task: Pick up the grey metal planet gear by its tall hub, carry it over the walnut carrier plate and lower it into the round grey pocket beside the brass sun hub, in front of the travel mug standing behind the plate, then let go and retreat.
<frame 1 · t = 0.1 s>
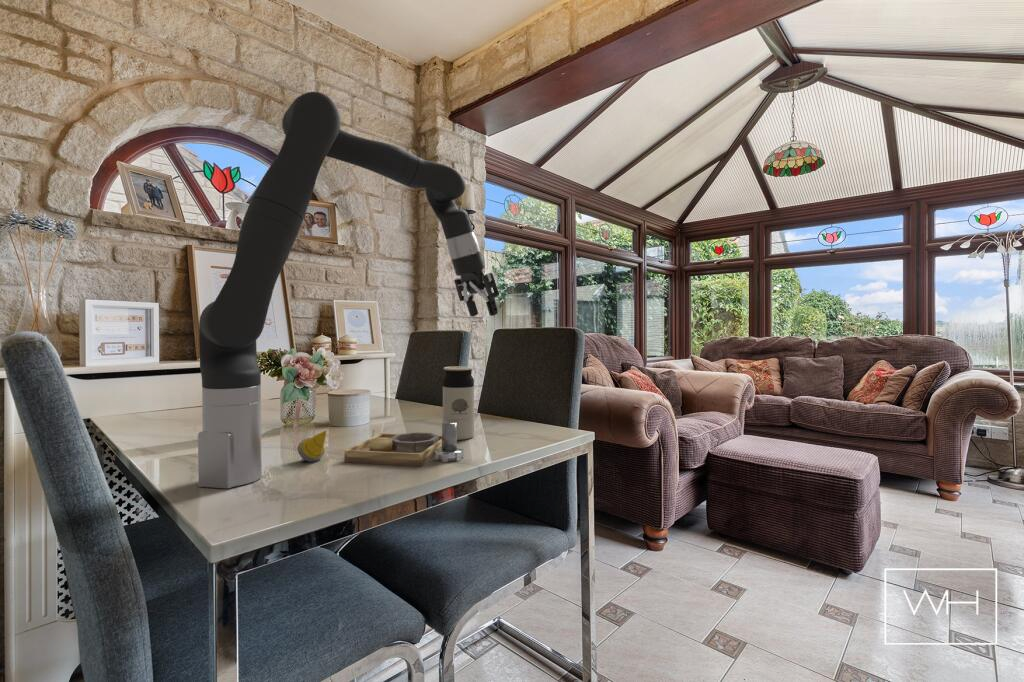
hand: (484, 315, 123), 31 cm above the table, fingers open, 8 cm apart
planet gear: (449, 458, 103), on the table
travel mug: (458, 437, 123), on the table
yellow grey teardrop: (316, 461, 101), on the table
carrier: (399, 453, 107), on the table
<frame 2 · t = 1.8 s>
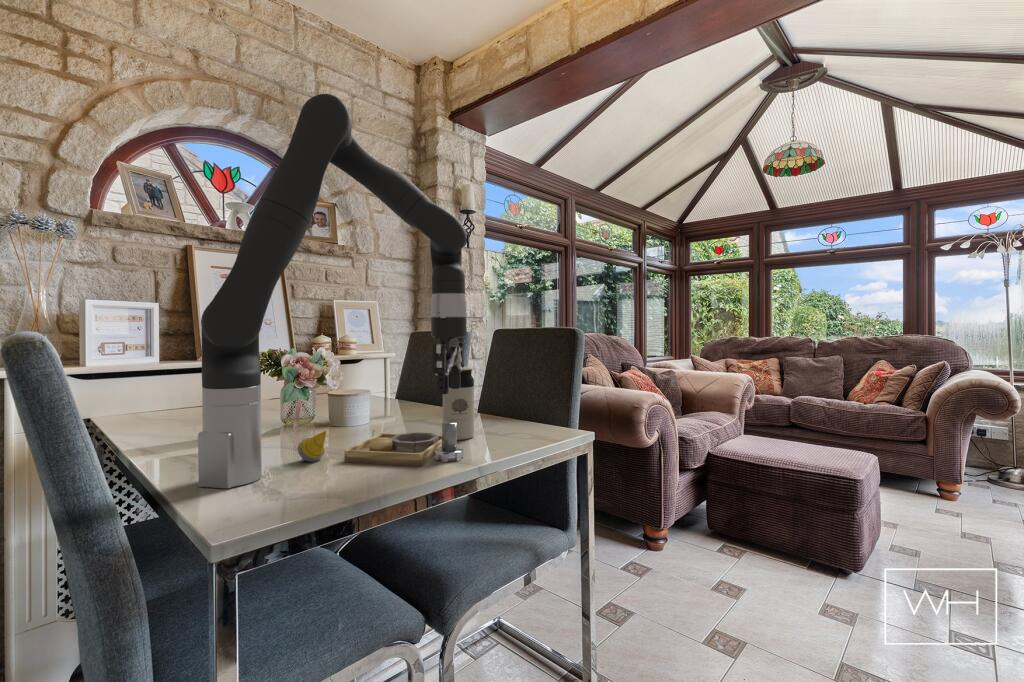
hand: (449, 391, 103), 14 cm above the table, fingers open, 8 cm apart
nothing on the table moved.
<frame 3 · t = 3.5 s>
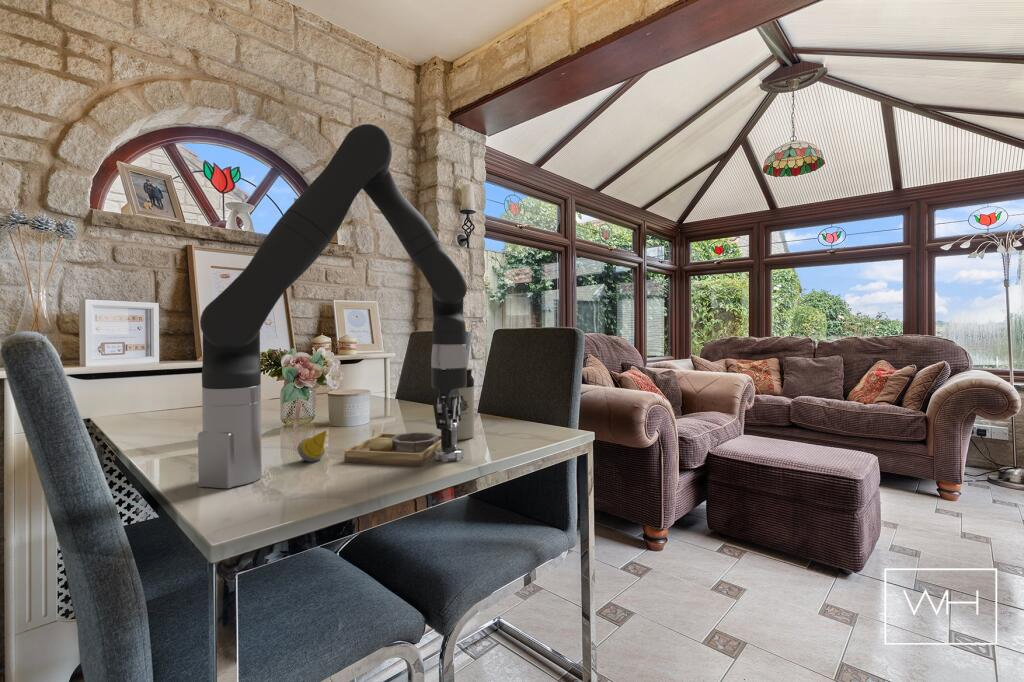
hand: (449, 445, 103), 3 cm above the table, fingers closed on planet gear, 3 cm apart
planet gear: (449, 458, 103), on the table, touching gripper
everything else where it was.
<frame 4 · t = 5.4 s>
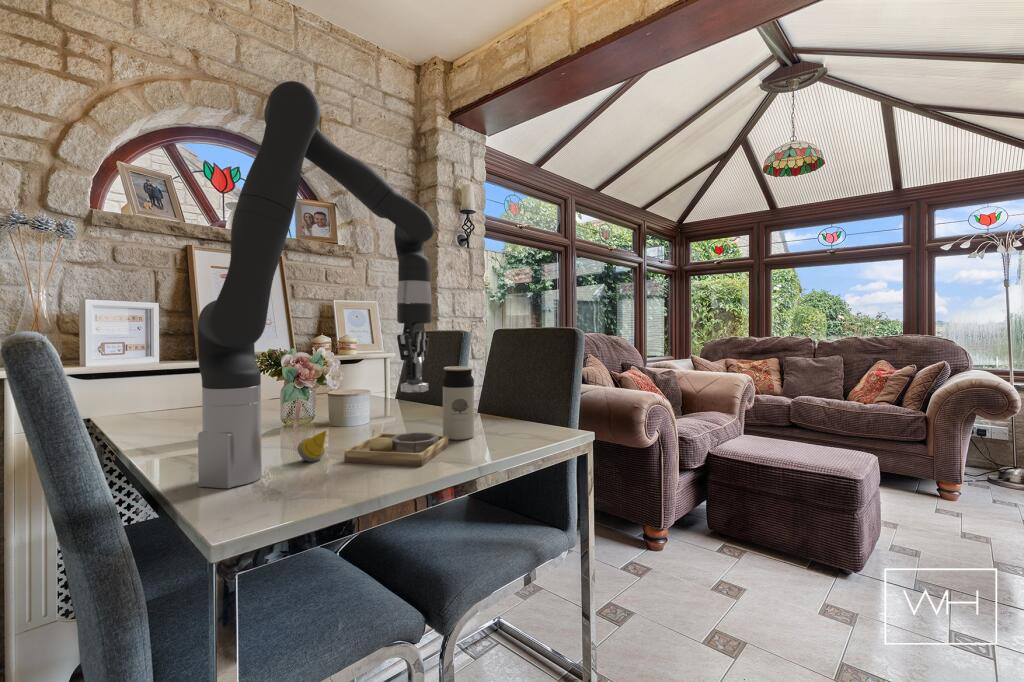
hand: (414, 378, 108), 17 cm above the table, fingers closed on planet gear, 3 cm apart
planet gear: (414, 390, 108), point 14 cm above the table, touching gripper
everything else where it was.
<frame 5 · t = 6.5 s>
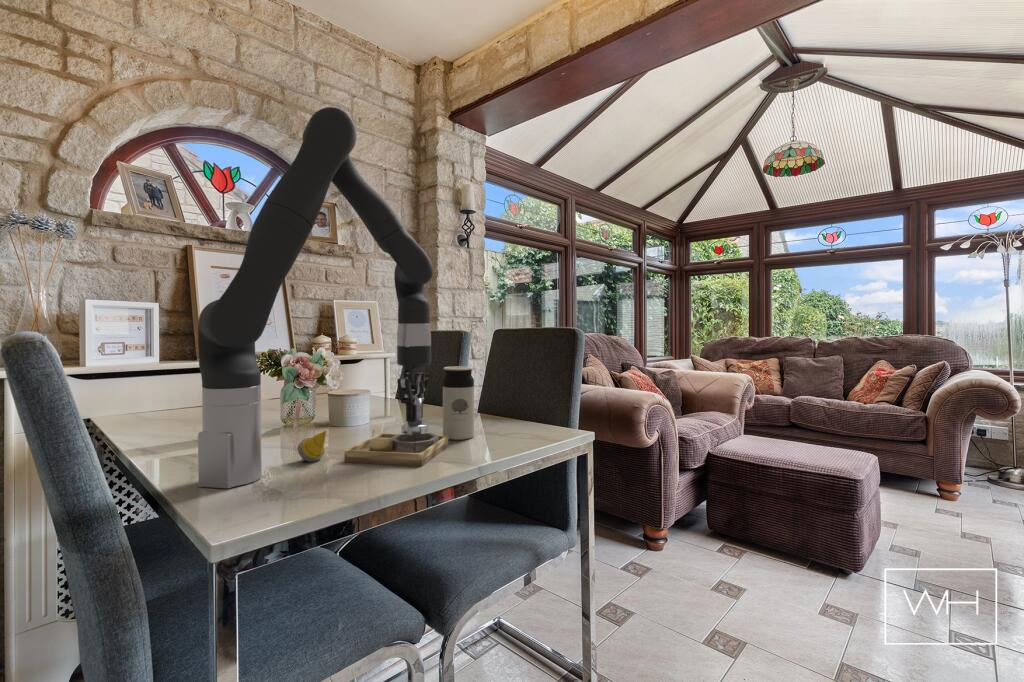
hand: (414, 419, 108), 7 cm above the table, fingers closed on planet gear, 3 cm apart
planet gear: (414, 431, 109), point 4 cm above the table, touching gripper
everything else where it was.
when the fingers open (5 cm above the table, at t = 7.2 s): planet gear stays where it is, resting on carrier.
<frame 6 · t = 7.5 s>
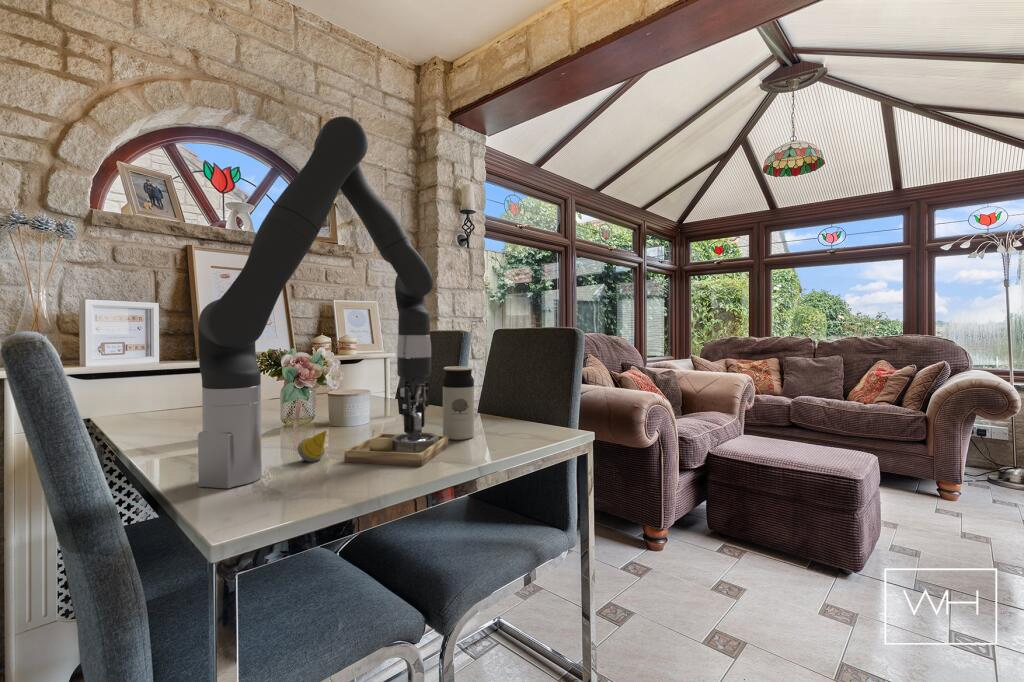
hand: (414, 429, 108), 5 cm above the table, fingers open, 5 cm apart
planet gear: (414, 446, 109), point 1 cm above the table, touching carrier
everything else where it was.
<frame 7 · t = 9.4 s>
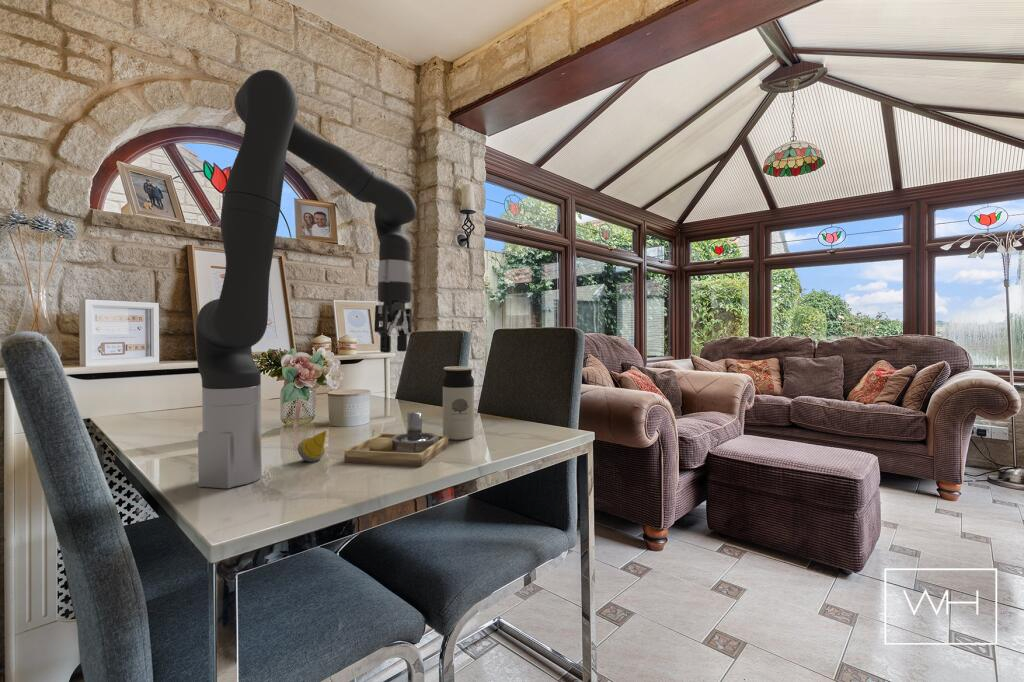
hand: (394, 351, 111), 22 cm above the table, fingers open, 8 cm apart
nothing on the table moved.
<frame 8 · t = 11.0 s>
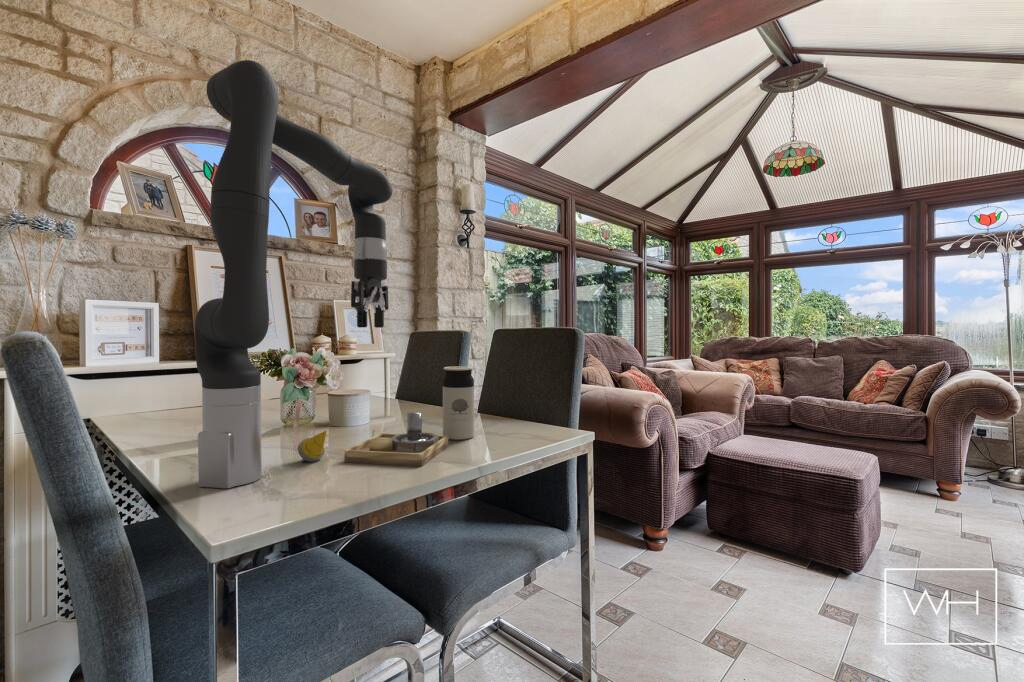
hand: (370, 327, 114), 28 cm above the table, fingers open, 8 cm apart
nothing on the table moved.
at the end: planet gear 0.0 cm from the target spot on the carrier, point 1.2 cm above the carrier's base; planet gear tilted 0°; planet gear touching carrier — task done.
